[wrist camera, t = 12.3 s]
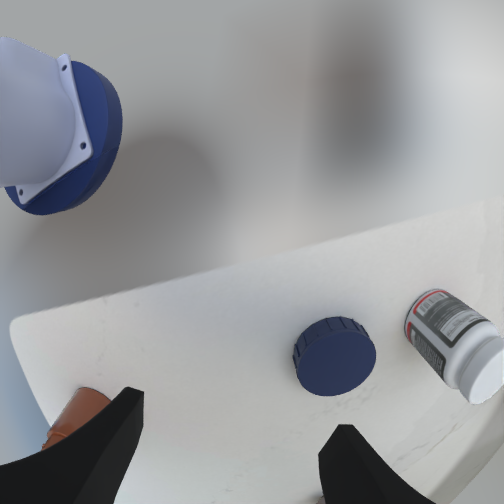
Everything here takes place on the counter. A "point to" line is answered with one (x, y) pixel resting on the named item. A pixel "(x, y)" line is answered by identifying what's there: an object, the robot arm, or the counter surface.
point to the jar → (76, 414)
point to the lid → (333, 356)
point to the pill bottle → (458, 344)
